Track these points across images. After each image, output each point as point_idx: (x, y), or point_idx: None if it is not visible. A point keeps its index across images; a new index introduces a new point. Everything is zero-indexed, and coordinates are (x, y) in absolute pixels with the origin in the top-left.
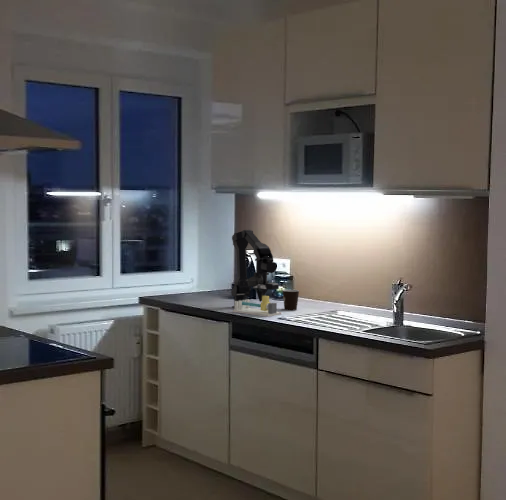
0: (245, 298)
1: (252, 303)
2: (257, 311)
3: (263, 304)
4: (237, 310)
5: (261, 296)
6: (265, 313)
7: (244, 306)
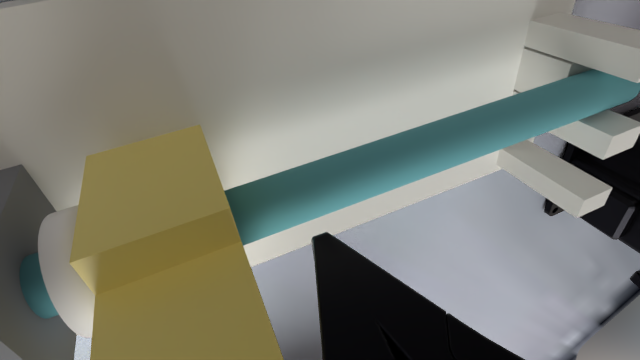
0: (633, 229)
1: (450, 145)
2: (292, 117)
3: (134, 214)
4: None
5: (322, 350)
6: (22, 114)
7: None
